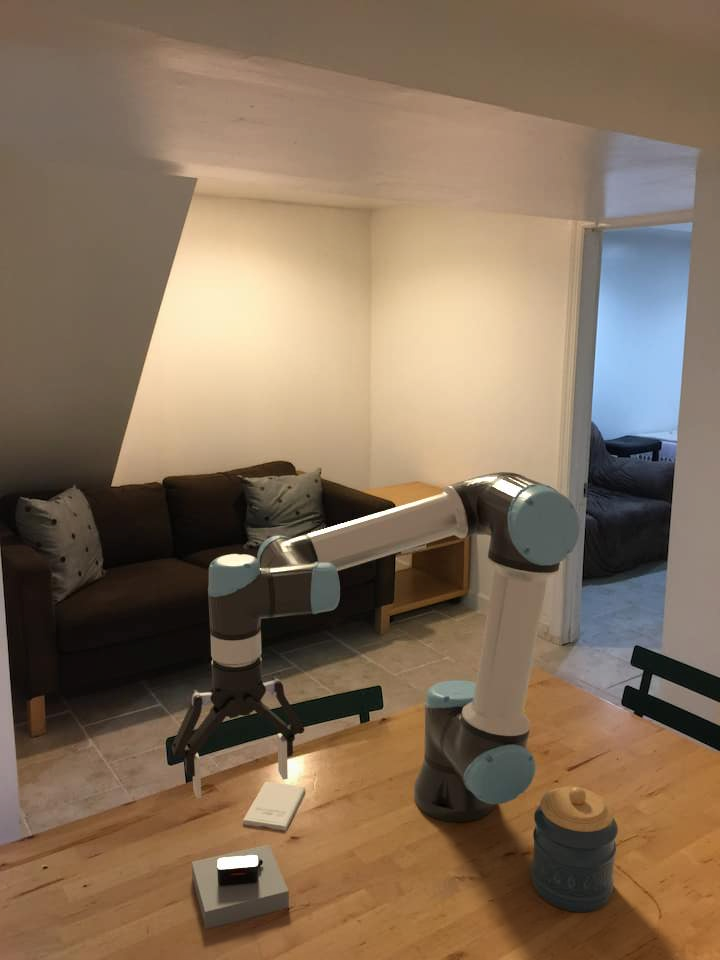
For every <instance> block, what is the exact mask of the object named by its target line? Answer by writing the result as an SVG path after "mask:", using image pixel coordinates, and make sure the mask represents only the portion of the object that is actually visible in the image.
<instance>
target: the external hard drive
mask: <svg viewBox="0 0 720 960" xmlns="http://www.w3.org/2000/svg"><path fill="white" fill-rule="evenodd" d="M305 792H306V787H304V786H300V785H294V784H293V785H292V784H287V783H280V782H279V783H278V782H271V781H265V782H264V783H263V785H262V787H261V789H260V790H259V792H258V794H257V795H256V798H255V799H254V800H253V802H252V804H251V806H250V807H249V809H248V810H247V813H246V814H245V816H244V817H243V820H242V825H244V826H245V825H246V826H252V827H258V828H259V827H264V828H267V829H273V830H279V831H280V830H281V831H287V829H288V827H289V825H290V823H291V820H292V819H293V817H294V815H295V813H296V811H297V809H298V808H299V805H300V802H301V801H302V798H303V797H304V795H305Z"/></svg>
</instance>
